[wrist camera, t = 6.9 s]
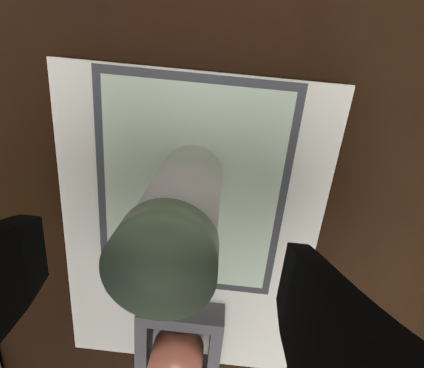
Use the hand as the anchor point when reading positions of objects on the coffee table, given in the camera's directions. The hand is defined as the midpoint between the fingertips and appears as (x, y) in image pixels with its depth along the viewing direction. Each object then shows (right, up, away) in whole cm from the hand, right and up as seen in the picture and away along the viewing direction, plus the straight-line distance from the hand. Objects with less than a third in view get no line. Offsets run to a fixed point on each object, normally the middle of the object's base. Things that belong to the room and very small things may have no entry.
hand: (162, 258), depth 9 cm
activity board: (0, -1, +9) cm, 9 cm away
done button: (0, -7, +10) cm, 12 cm away
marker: (0, +3, +7) cm, 7 cm away
